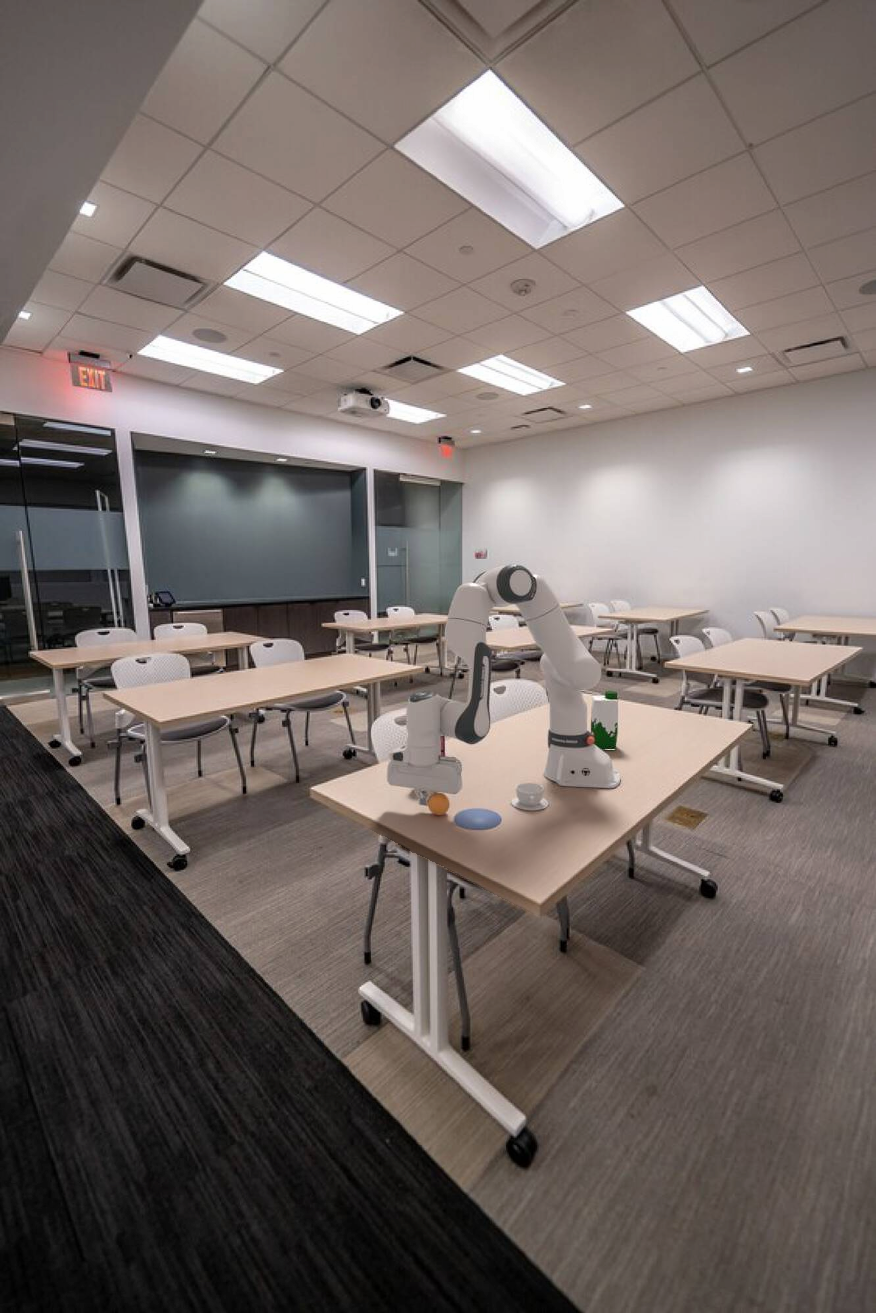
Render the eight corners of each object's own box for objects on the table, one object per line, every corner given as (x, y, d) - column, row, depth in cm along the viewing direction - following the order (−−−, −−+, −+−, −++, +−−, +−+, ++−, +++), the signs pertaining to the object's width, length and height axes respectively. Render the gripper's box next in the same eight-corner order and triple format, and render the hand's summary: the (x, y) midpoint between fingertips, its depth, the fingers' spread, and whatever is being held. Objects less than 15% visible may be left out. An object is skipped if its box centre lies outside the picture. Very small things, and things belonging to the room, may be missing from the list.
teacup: (509, 797, 152) (509, 781, 152) (545, 796, 152) (545, 780, 151) (513, 812, 142) (512, 795, 142) (551, 812, 142) (551, 794, 141)
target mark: (506, 812, 142) (506, 811, 142) (494, 832, 131) (494, 832, 130) (462, 806, 146) (462, 805, 146) (447, 825, 135) (447, 824, 135)
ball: (432, 806, 145) (452, 810, 144) (424, 816, 140) (445, 821, 139) (433, 787, 144) (453, 791, 142) (425, 796, 139) (446, 801, 137)
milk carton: (618, 751, 188) (619, 695, 186) (591, 750, 190) (592, 694, 187) (615, 744, 197) (616, 689, 194) (589, 743, 199) (590, 689, 196)
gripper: (465, 754, 140) (465, 805, 142) (394, 746, 148) (395, 795, 150) (457, 762, 134) (457, 815, 136) (383, 753, 142) (384, 803, 144)
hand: (424, 804), depth 143 cm, fingers closed
